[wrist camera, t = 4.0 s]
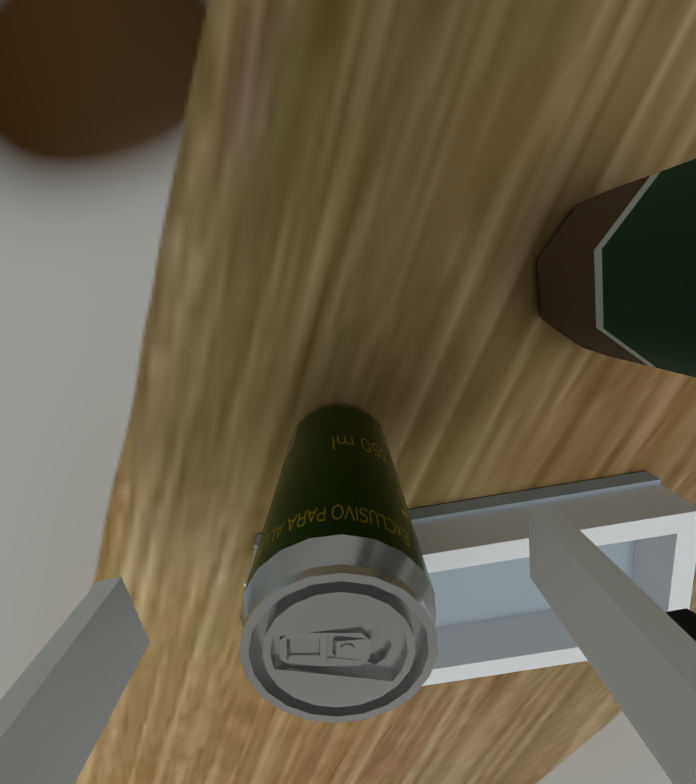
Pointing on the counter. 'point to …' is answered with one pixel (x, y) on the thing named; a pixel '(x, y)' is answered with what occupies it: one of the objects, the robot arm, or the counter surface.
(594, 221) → the beer bottle
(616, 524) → the tray
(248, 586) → the beer can
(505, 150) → the counter surface
